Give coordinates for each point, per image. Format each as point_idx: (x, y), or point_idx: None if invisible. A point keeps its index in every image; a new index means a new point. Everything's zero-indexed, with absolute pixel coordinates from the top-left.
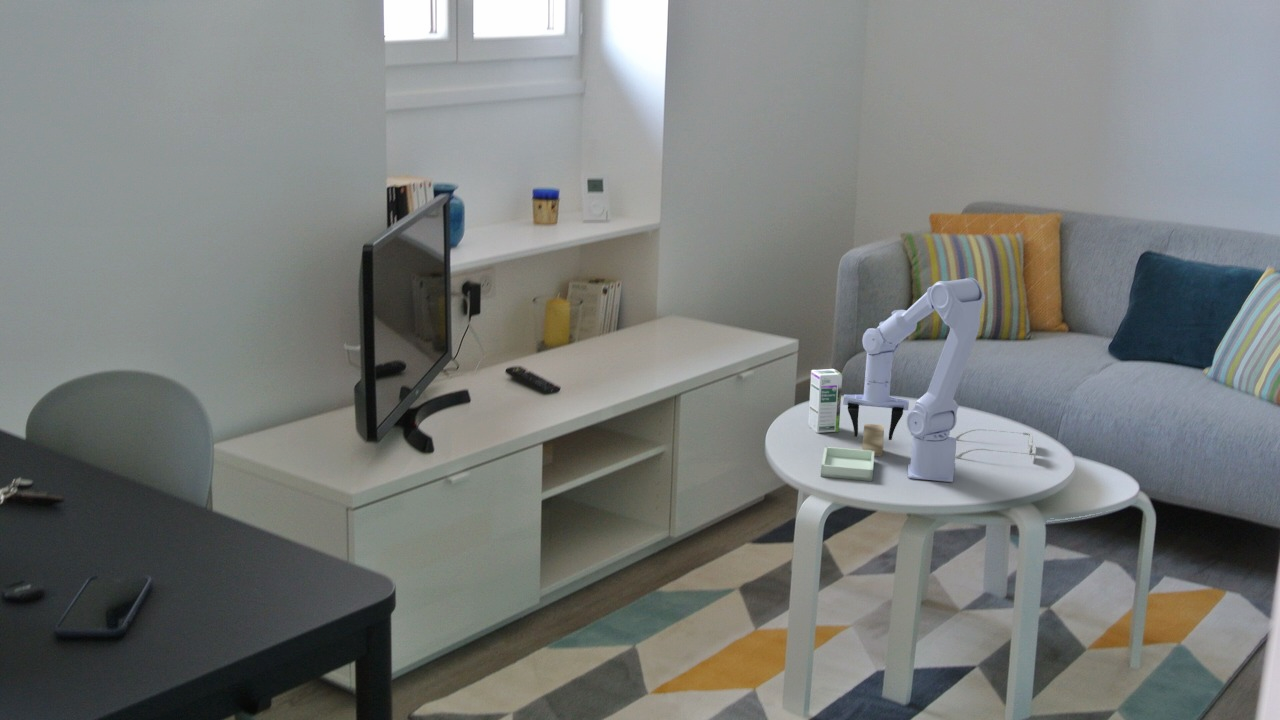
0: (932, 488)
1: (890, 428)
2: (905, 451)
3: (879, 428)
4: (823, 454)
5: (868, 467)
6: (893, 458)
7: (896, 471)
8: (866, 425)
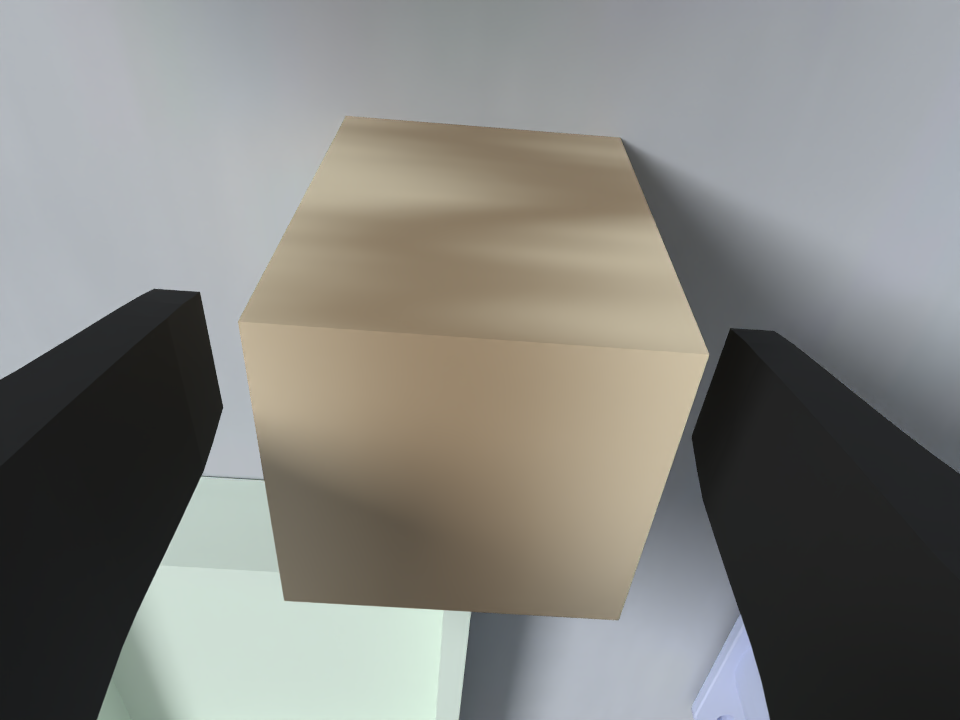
0: None
1: (749, 632)
2: (943, 136)
3: (562, 528)
4: None
5: (425, 651)
6: None
7: (639, 625)
8: (303, 424)
